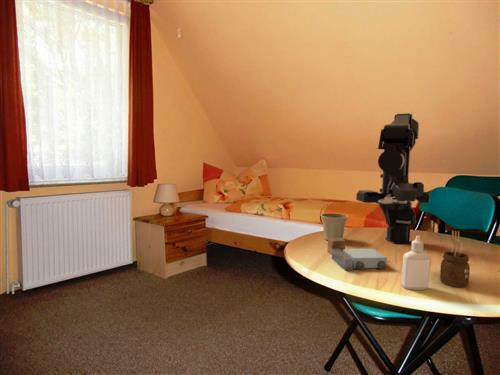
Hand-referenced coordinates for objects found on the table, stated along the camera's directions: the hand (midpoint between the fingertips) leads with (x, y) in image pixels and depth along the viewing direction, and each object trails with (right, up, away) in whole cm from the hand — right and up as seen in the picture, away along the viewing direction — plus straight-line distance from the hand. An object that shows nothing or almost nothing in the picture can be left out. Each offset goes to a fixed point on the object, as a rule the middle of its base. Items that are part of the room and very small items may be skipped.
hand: (390, 227), depth 98 cm
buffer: (-14, -10, -2) cm, 17 cm away
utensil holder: (+9, -12, -14) cm, 21 cm away
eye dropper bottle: (-1, -12, -17) cm, 21 cm away
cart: (-8, -10, -1) cm, 13 cm away
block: (-13, -9, +8) cm, 18 cm away
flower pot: (-10, -7, +26) cm, 29 cm away
